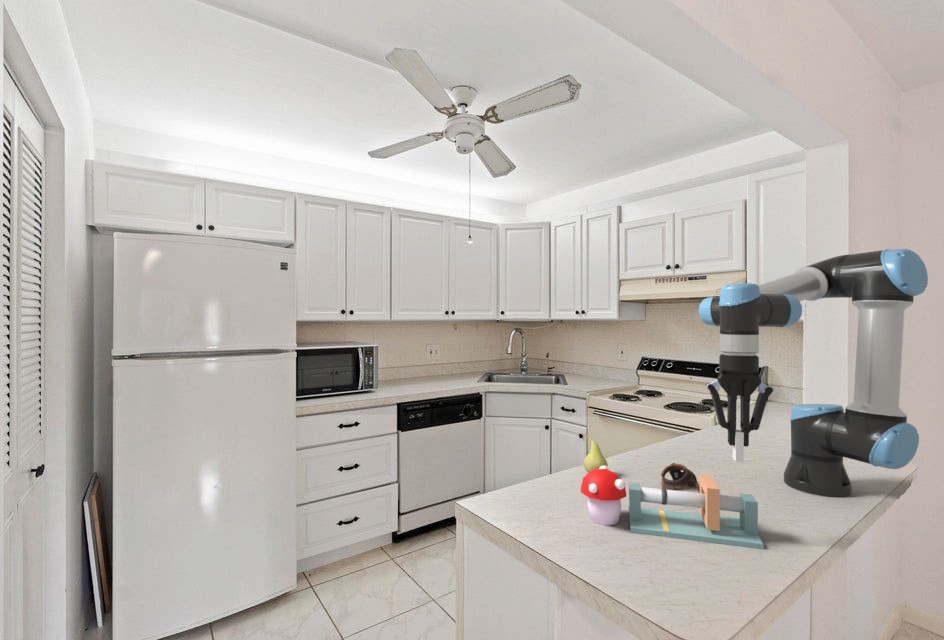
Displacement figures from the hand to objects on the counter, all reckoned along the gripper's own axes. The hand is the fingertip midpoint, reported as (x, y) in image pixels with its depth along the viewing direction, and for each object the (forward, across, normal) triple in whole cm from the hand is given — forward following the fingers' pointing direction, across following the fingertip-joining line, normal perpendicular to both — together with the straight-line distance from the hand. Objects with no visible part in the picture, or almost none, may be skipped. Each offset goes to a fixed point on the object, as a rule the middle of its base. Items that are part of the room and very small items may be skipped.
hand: (738, 460), depth 100 cm
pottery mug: (+17, +9, -24) cm, 31 cm away
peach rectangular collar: (+14, +6, 0) cm, 15 cm away
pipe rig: (+16, +10, 0) cm, 19 cm away
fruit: (+17, +32, -29) cm, 46 cm away
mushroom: (+17, +29, +1) cm, 33 cm away
